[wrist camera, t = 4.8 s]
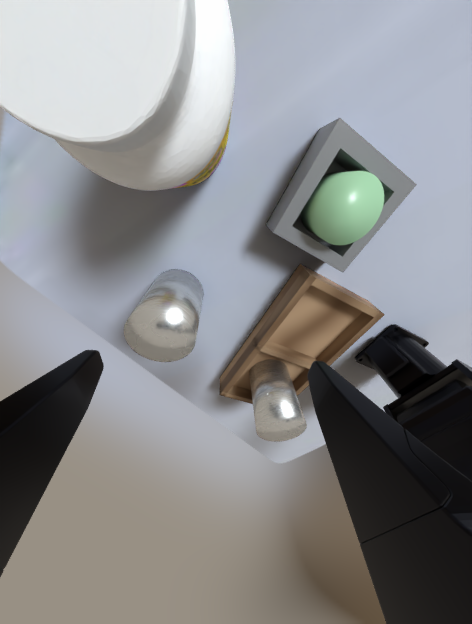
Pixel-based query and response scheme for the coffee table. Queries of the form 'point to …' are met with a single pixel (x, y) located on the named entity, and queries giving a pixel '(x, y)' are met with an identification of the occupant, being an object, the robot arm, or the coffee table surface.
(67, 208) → the coffee table surface
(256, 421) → the cylinder
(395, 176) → the grey square tray
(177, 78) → the supplement bottle
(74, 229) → the coffee table surface
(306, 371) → the wooden tray
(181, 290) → the cylinder
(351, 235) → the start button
